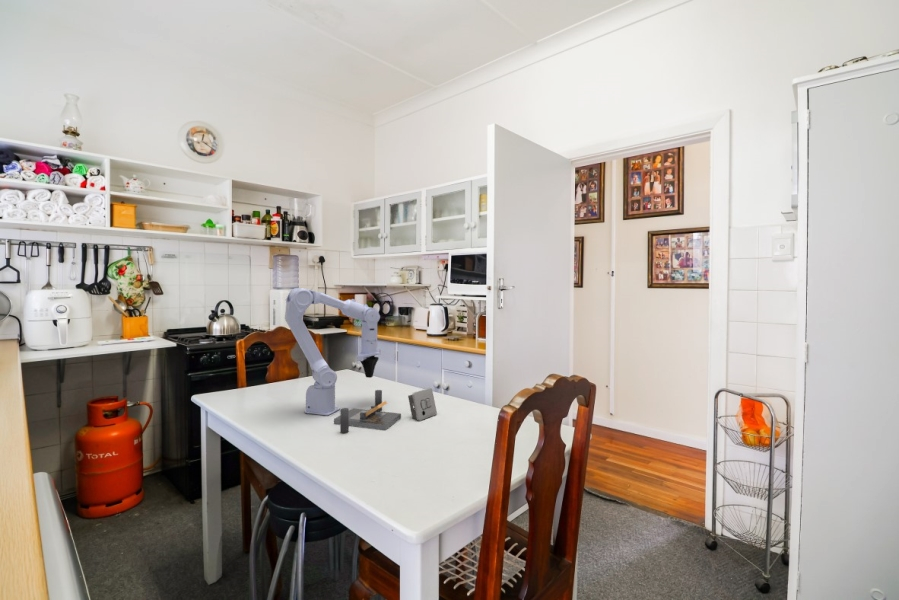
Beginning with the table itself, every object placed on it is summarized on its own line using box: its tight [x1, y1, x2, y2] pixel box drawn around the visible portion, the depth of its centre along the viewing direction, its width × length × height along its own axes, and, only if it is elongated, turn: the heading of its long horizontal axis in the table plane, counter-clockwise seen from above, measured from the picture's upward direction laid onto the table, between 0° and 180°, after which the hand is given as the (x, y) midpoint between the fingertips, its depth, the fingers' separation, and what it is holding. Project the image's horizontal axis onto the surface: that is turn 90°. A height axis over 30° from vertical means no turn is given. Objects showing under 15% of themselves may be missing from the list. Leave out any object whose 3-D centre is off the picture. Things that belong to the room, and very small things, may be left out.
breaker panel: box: [333, 405, 402, 431], centre depth 141 cm, size 18×12×4 cm, turn 73°
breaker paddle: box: [365, 400, 388, 417], centre depth 141 cm, size 2×6×7 cm
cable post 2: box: [374, 389, 383, 412], centre depth 153 cm, size 2×2×7 cm
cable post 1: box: [339, 407, 350, 435], centre depth 131 cm, size 2×2×7 cm
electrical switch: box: [407, 387, 438, 422], centre depth 147 cm, size 9×5×9 cm, turn 141°
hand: (369, 377), depth 159 cm, fingers closed
